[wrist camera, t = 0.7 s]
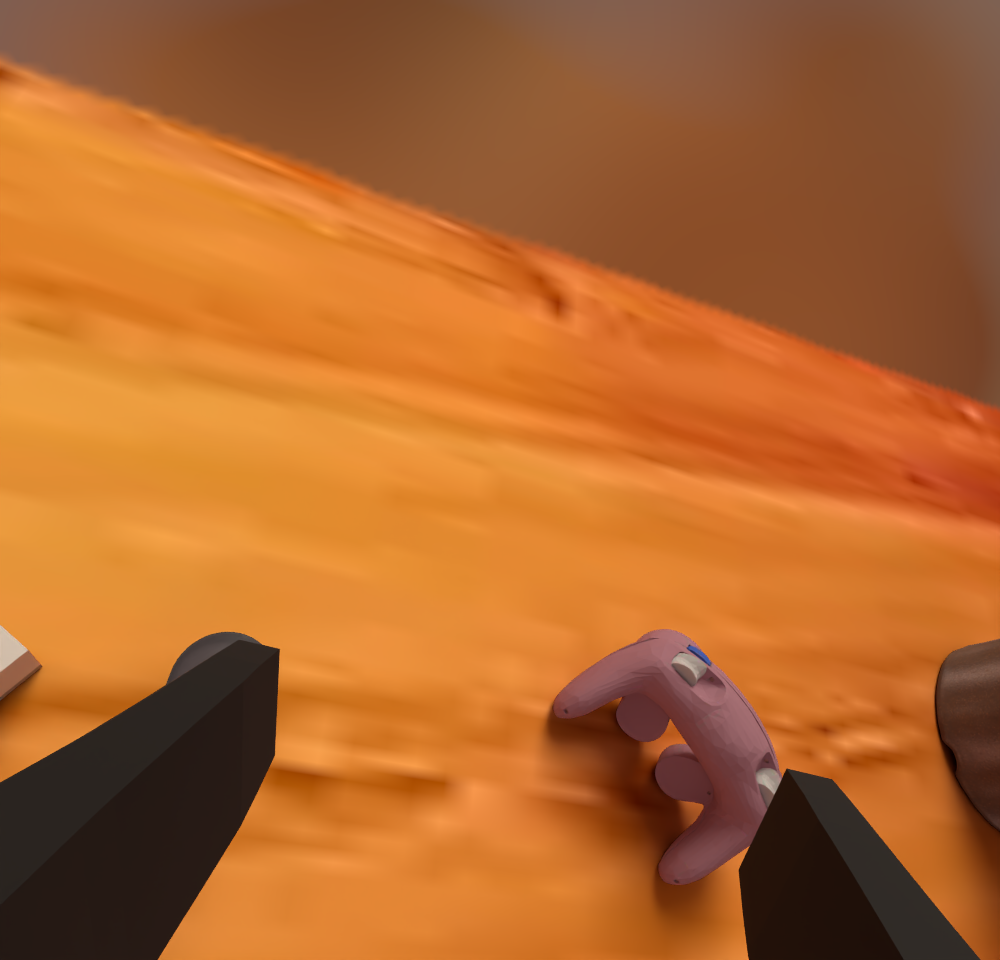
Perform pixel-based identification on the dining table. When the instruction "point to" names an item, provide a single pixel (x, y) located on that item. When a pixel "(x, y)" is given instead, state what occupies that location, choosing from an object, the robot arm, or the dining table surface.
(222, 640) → the pin
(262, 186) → the dining table surface
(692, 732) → the video game controller
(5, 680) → the bore block
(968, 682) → the plant pot
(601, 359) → the dining table surface
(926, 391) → the dining table surface
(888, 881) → the robot arm
